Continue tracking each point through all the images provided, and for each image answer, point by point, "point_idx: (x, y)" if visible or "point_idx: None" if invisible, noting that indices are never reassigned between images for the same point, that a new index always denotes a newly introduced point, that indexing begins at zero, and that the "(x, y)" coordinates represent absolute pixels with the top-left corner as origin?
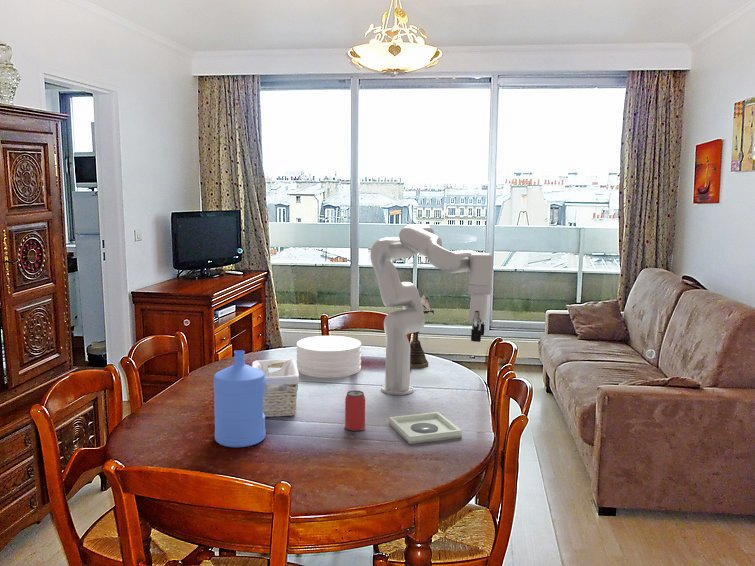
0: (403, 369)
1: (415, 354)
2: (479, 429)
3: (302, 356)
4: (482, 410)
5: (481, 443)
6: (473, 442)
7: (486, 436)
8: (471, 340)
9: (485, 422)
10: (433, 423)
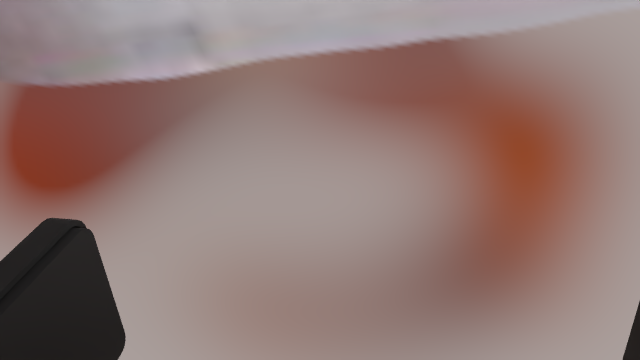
0: None
1: None
2: (228, 29)
3: None
4: (540, 8)
5: (75, 58)
6: (65, 22)
7: (160, 70)
8: (49, 225)
9: (337, 47)
10: None
